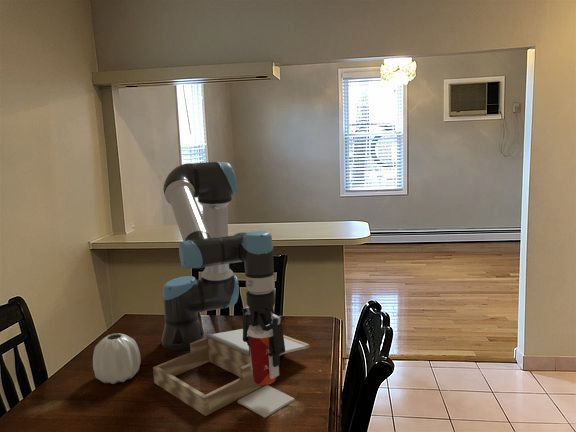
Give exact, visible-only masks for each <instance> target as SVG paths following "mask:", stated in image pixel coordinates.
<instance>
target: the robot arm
mask: <svg viewBox="0 0 576 432" xmlns="http://www.w3.org/2000/svg"><path fill="white" fill-rule="evenodd" d="M236 177H237V176H236V174H235V171H234V168H233V166H232V165H231V164H230V162H227V161H207V162H193V163H191V162H190V163H189V162H187V163H183V164H180V165H178V166H176V167H175V168H174V169H172V170H171V171H170V172H169V174H168V175H167V177H166V178H165V180H164V183H163V194H164V198H165V201H166V202H167V203H168V204H170V206H171V209H172V212H173V214H174V218H175V221H176V224H177V227H178V230H179V232H180V237H181V239H182V241H181V242H180V243H179V245H178V254H179V259H180V265H181V267H182V268H183V269H185V270H189V269H201V268H204V270H203V271H201V273H200V278H201V279H200V278H199V279H196V277H195V276H192V275H187V276H186V275H185V276H178V277H176V278H173V279H171V280H168V281H167V282H165V283H164V285H163V287H162V298H161V299H162V300H163V310H164V311H163V313H164V314H163V315H164V326H163V327H164V328H163V333H162V336H161V347H162V348H163V349H165V350H168V351H173V352H179V351H180V352H183V351H189V350H190V343H192V342H195V341H197V340H200V339H203V338H205V333H204V330H203V328H202V325H201V322H200V321H199V313H203V312H208V311H215V310H221V309H222V310H223V309H226V308H229V307H233V306H235V304H237V303H238V300H239V295H240V286H239V279H238V277H237V275H236V274H234V271H233V270H232V269H231V268H230V264H235V263H244V272H245V273H244V274H245V275H244V276H245V288H246V290H247V292H246V293H245V294H246V295H245V296H246V305H247V306H245V307H242V308H241V312H242V329H243V341H244V342H247V345H248V346H249V355H250V363H251V370H253V369H252V361H251V352H250V343H249V335H248V334H247V331H248V329H249V326H250V325H252V326H256V325H258V324H260V325H261V327H262V330H264V331H265V330H266V331H268V330H271V329H272V330H273V337H269V349H270V352H271V354H269V372H270V379H273V378H275V377H276V378H277V377H279V376H280V367H279V366H280V365H281V364H280V358H281V356H279V355H280V354H282V353H284V352H285V344H284V336H283V335H284V331H283V330H284V329H283V316H282V315H277V314H275V311H274V306H275V304H276V291H275V290H274V289H275V288H276V286H275V272H274V271H275V270H274V267H275V266H274V243H273V237H272V234H271V232H269V231H266V230H265V231H264V230H254V231H248V232H242V231H239V232H236V234H235V233H234V235H229V221H228V220H229V219H228V218H229V217H228V216H229V215H228V210H229V209H228V206H229V204H230V203H231V202H232V201H233V199H232V196H234V195H237V192H238V182H237V178H236ZM196 198H197V201H196ZM197 202H198V203H199V204H200V205H201V207H202V212H201V210H200V208H199V206H198V203H197ZM268 324H270V325H268ZM266 325H268V326H266ZM247 335H248V336H247ZM274 349H275V350H274Z"/></svg>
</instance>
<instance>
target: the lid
mask: <svg viewBox="0 0 576 432" xmlns="http://www.w3.org/2000/svg"><path fill="white" fill-rule="evenodd" d="M247 336H248V335H247ZM283 336H284V344H285V352H284V353H285V354H289V353H291V352H296V351H301V350H307V349H310V343H307V342H304V341H301V340H298V339H296V338H293V337H290V336H287V335H285V334H283ZM206 337H207V338H210V339H212V340H214V341H216V342H219V343H221V344H223V345H225V346H228V347H230V348H232V349H234V350H237V351H239V352H241V353H243V354H246V355H248V356H250V355H249V346H248V345H247V342H244V341H243V328H240V329H235V330H228V331H223V332H217V333H206ZM284 353H282V354H283V355H285V354H284Z"/></svg>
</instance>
